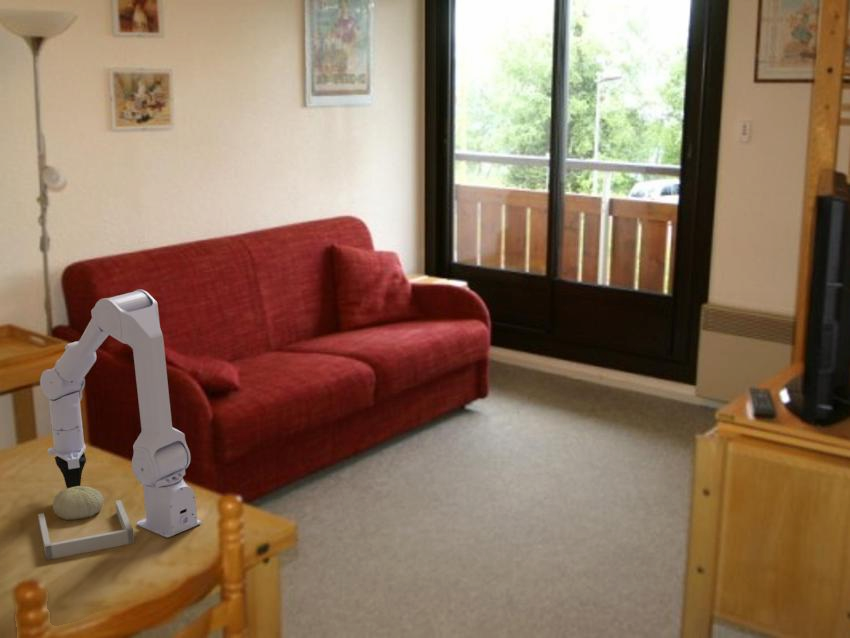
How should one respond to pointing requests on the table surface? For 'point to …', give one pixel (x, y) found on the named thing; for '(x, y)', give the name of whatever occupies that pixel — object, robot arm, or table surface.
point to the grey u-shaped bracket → (88, 538)
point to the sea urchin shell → (77, 502)
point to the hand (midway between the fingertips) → (73, 490)
